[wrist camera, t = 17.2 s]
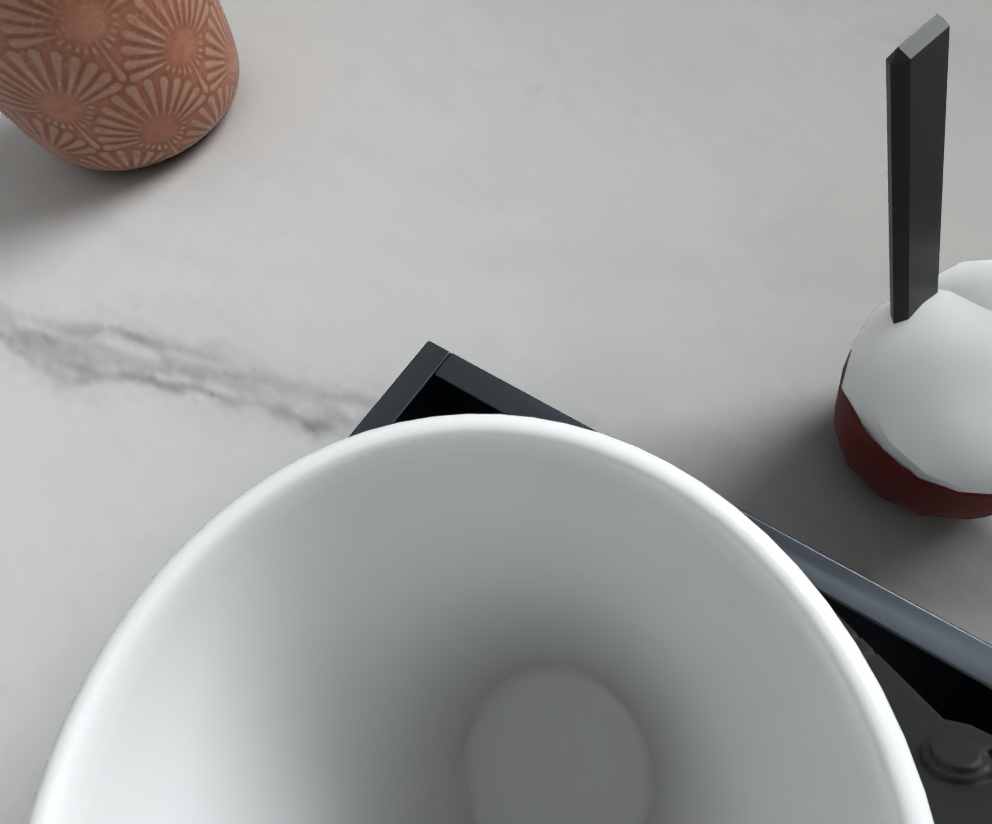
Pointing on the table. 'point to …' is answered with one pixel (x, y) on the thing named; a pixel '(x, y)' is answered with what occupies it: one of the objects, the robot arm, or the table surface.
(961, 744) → the robot arm
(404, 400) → the dark storage bin
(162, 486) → the table surface
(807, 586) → the white cup
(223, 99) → the planter
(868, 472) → the cocoa
